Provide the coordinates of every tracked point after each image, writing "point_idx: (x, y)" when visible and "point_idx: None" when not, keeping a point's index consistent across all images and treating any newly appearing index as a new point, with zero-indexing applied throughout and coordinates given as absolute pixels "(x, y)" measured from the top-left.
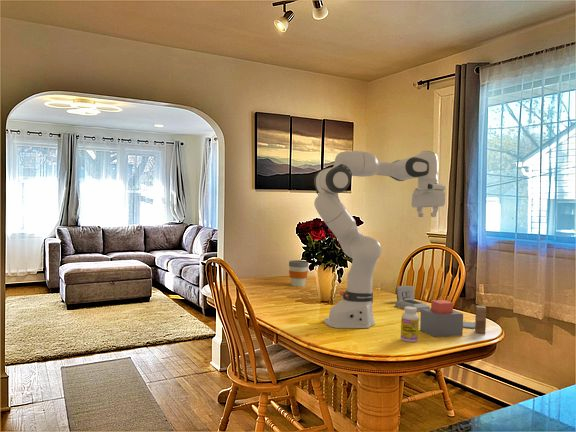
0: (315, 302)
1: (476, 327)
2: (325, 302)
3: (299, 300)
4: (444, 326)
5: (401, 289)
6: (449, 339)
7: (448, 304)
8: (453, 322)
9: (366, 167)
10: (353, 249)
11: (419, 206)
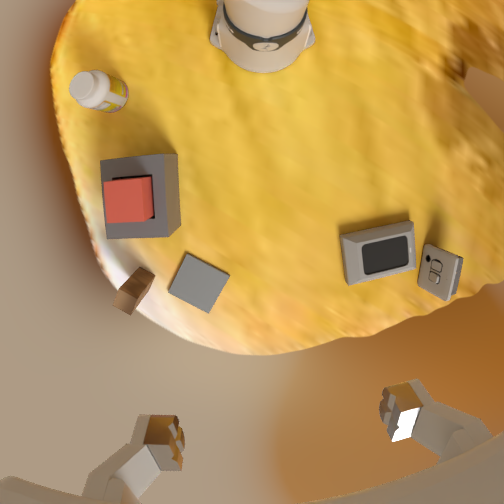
0: (461, 48)
1: (135, 271)
2: (461, 69)
3: (475, 30)
4: None
5: (447, 264)
6: None
7: (107, 208)
8: None
9: None
10: None
11: (430, 469)
